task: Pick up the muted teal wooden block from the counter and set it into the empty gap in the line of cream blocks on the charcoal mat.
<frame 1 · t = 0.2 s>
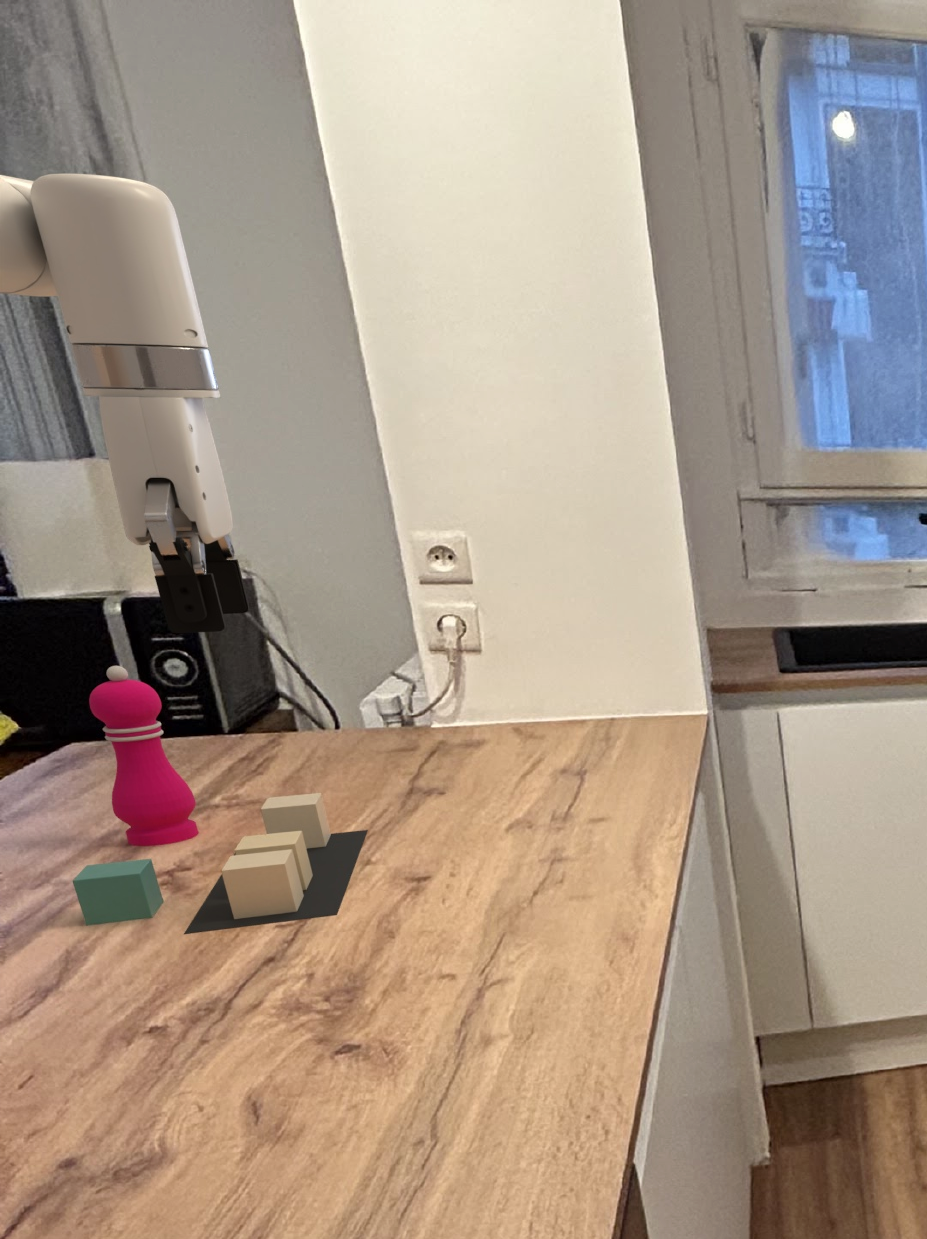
hand: (212, 622, 101), 32 cm above the table, tool pointing down, fingers open, 9 cm apart
cream block 2: (280, 886, 139), resting on mat
teal block: (127, 917, 132), on the table
mat: (286, 880, 142), on the table
cream block 1: (269, 907, 133), resting on mat
cream block 3: (302, 843, 152), resting on mat
pepper mill: (165, 843, 154), on the table
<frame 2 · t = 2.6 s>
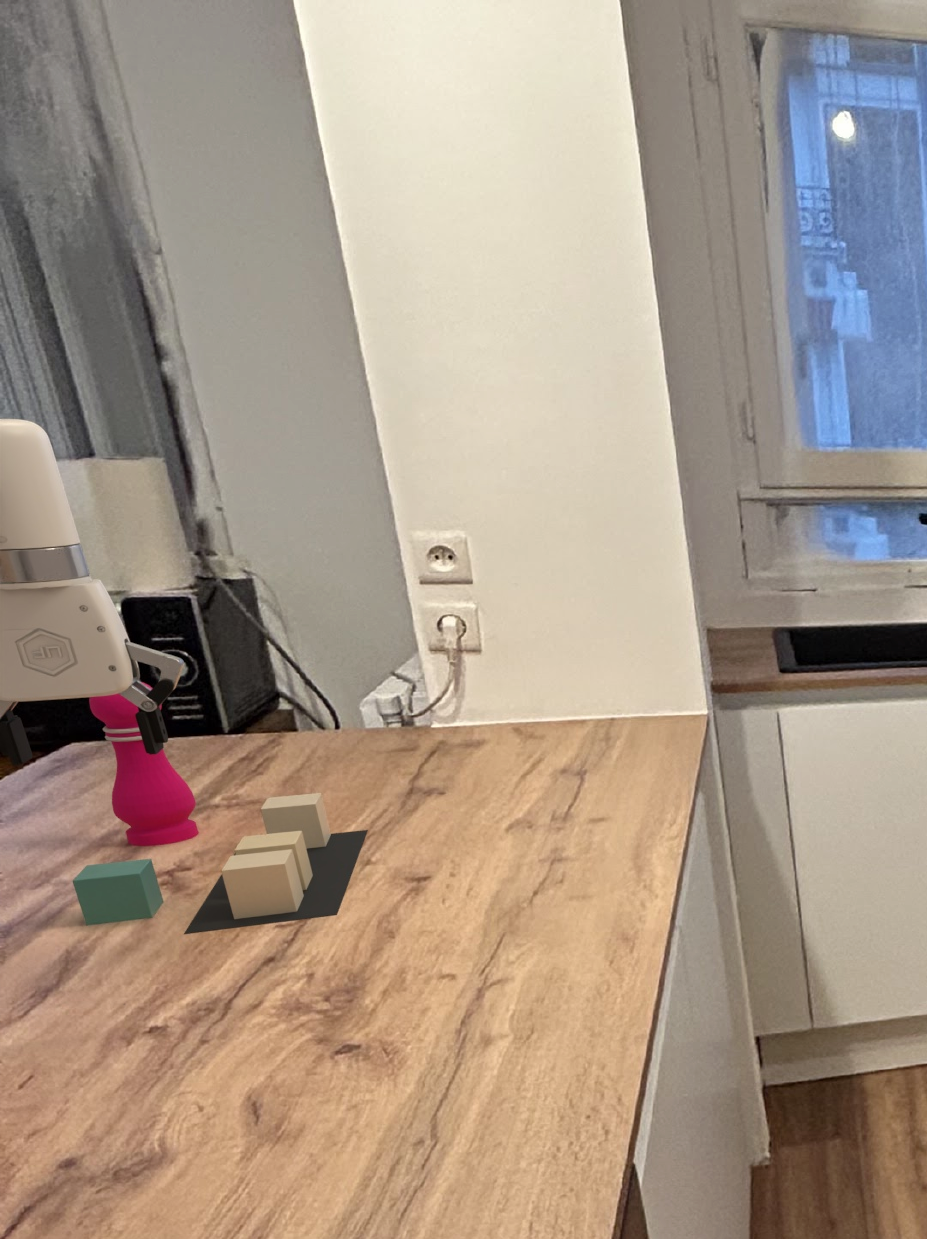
hand: (90, 756, 125), 16 cm above the table, tool pointing down, fingers open, 9 cm apart
nothing on the table moved.
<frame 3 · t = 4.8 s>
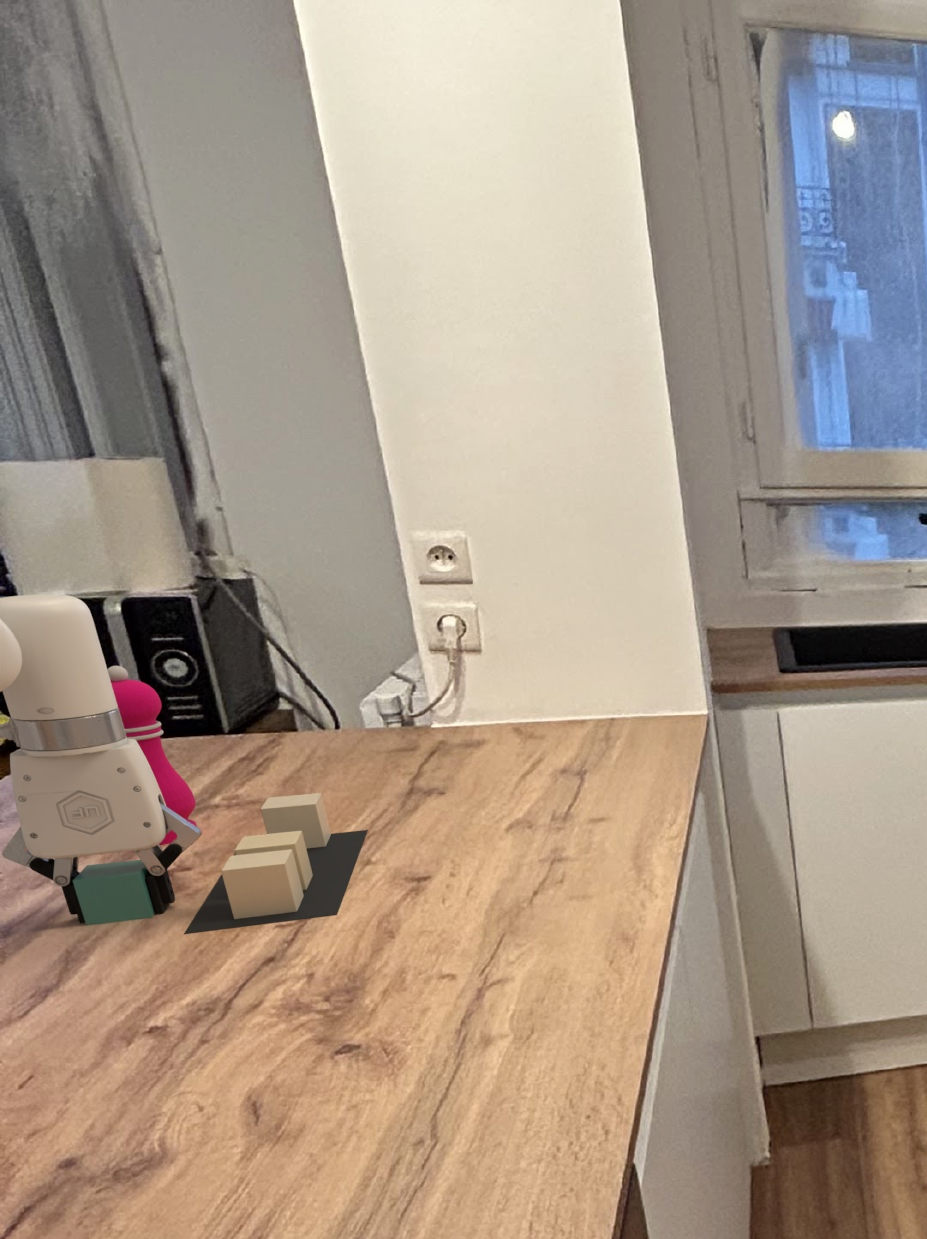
hand: (126, 913, 131), 0 cm above the table, tool pointing down, fingers closed on teal block, 5 cm apart
teal block: (127, 917, 132), on the table, touching gripper
everything else where it was.
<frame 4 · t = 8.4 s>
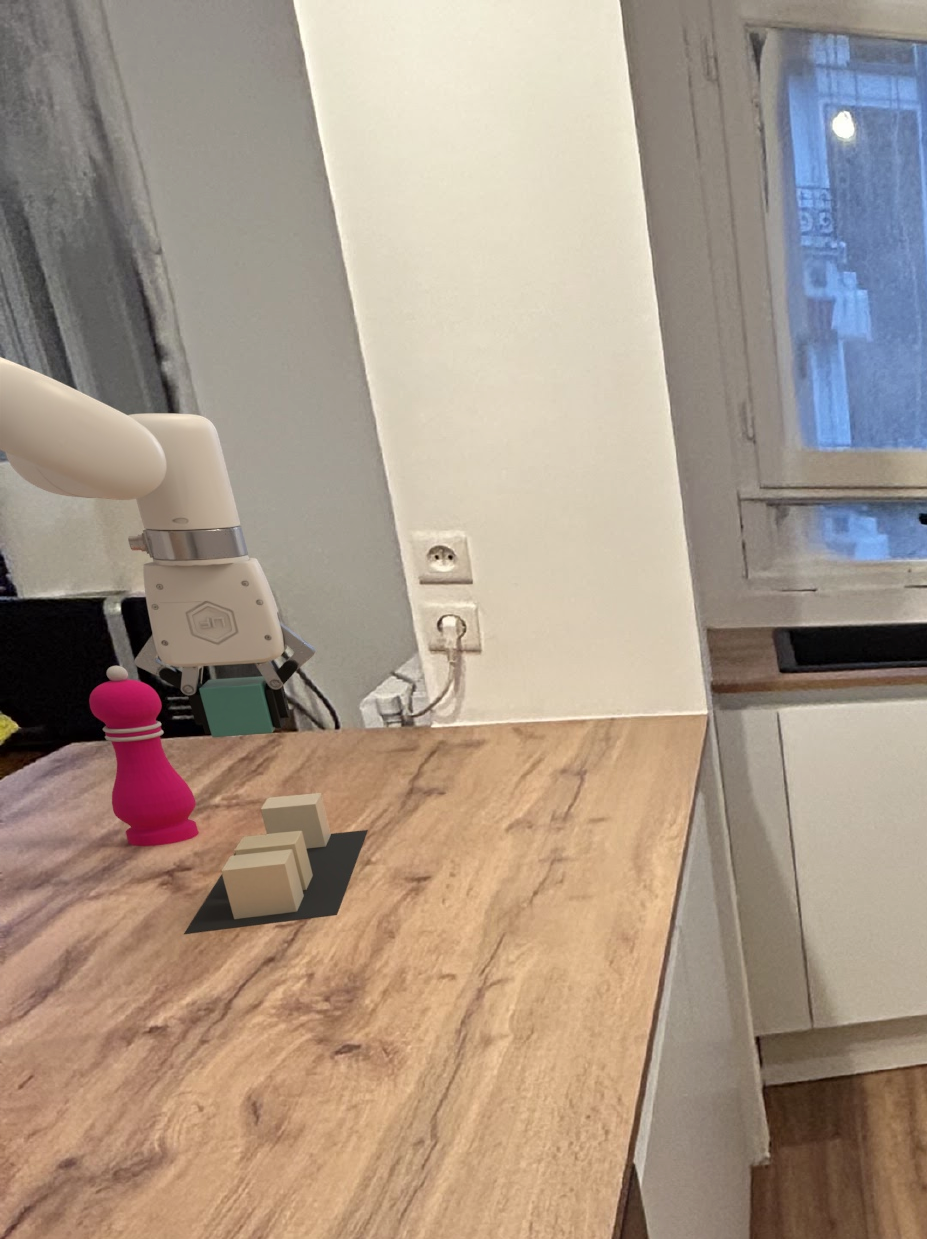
hand: (245, 726, 139), 16 cm above the table, tool pointing down, fingers closed on teal block, 5 cm apart
teal block: (246, 730, 139), point 15 cm above the table, touching gripper
everything else where it was.
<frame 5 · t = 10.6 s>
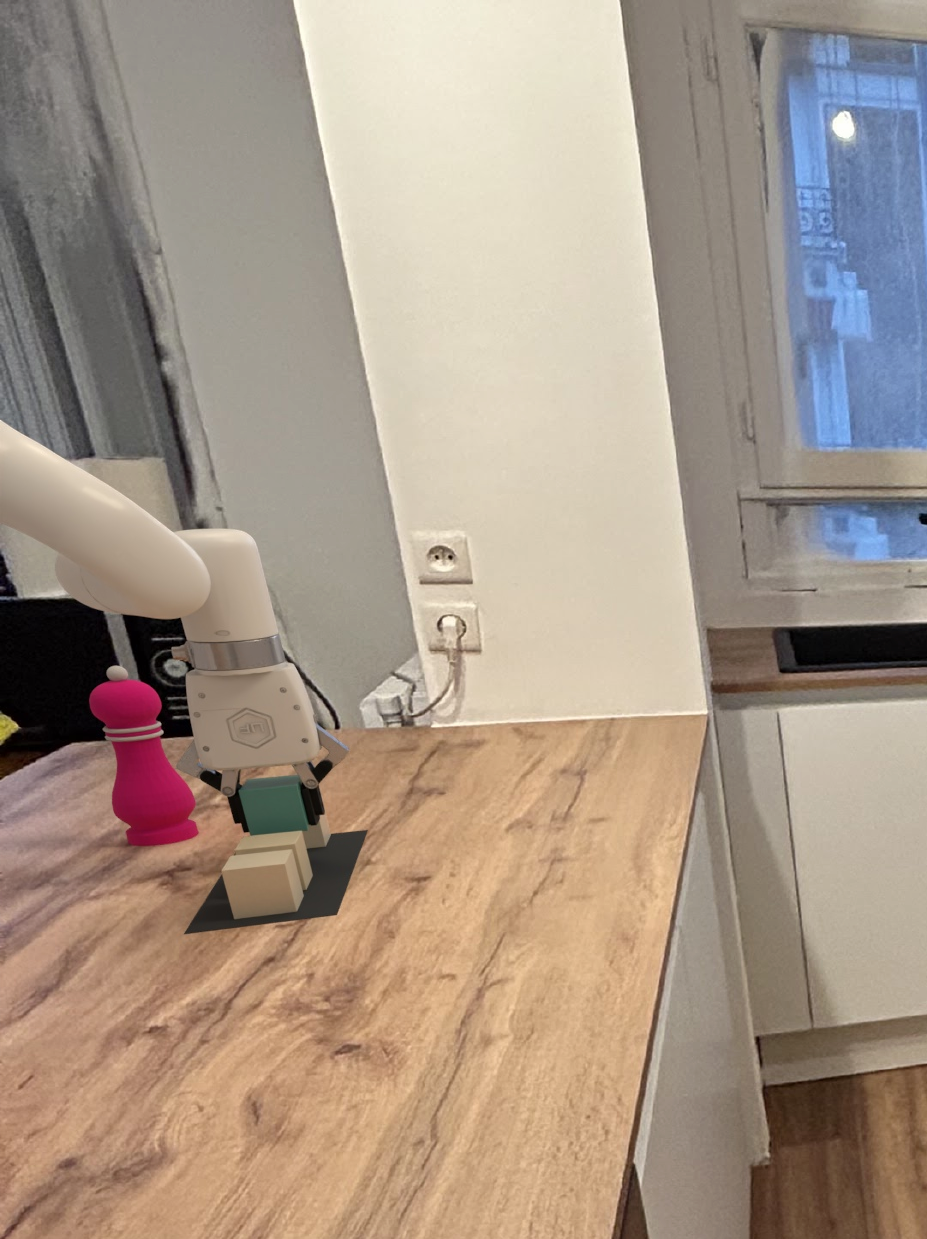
hand: (282, 823, 144), 5 cm above the table, tool pointing down, fingers closed on teal block, 5 cm apart
teal block: (283, 827, 144), point 5 cm above the table, touching gripper
everything else where it was.
when the fingers open (1 cm above the table, at t = 12.0 s): teal block stays where it is, resting on mat.
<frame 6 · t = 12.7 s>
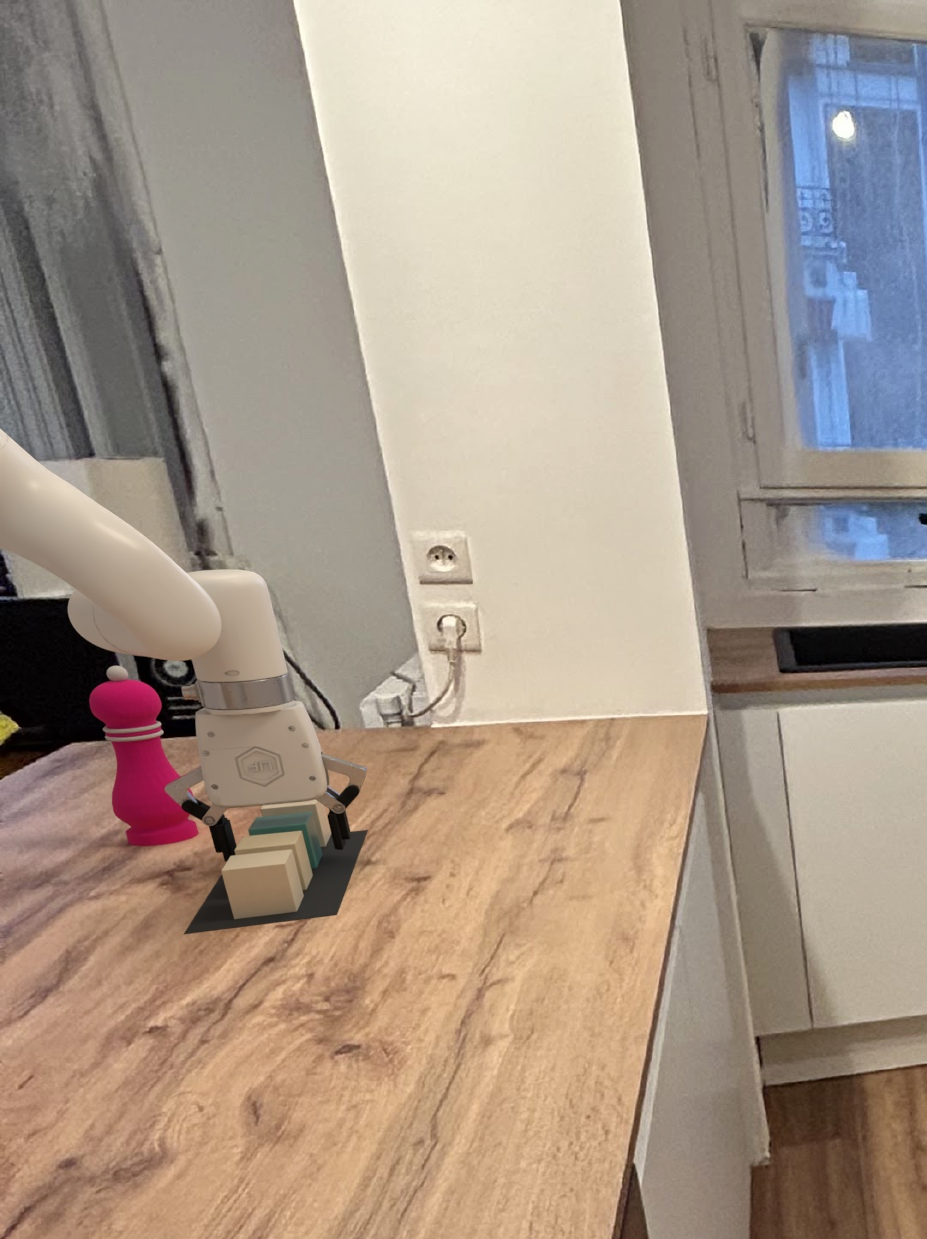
hand: (287, 852, 145), 2 cm above the table, tool pointing down, fingers open, 9 cm apart
teal block: (291, 864, 145), resting on mat
everything else where it was.
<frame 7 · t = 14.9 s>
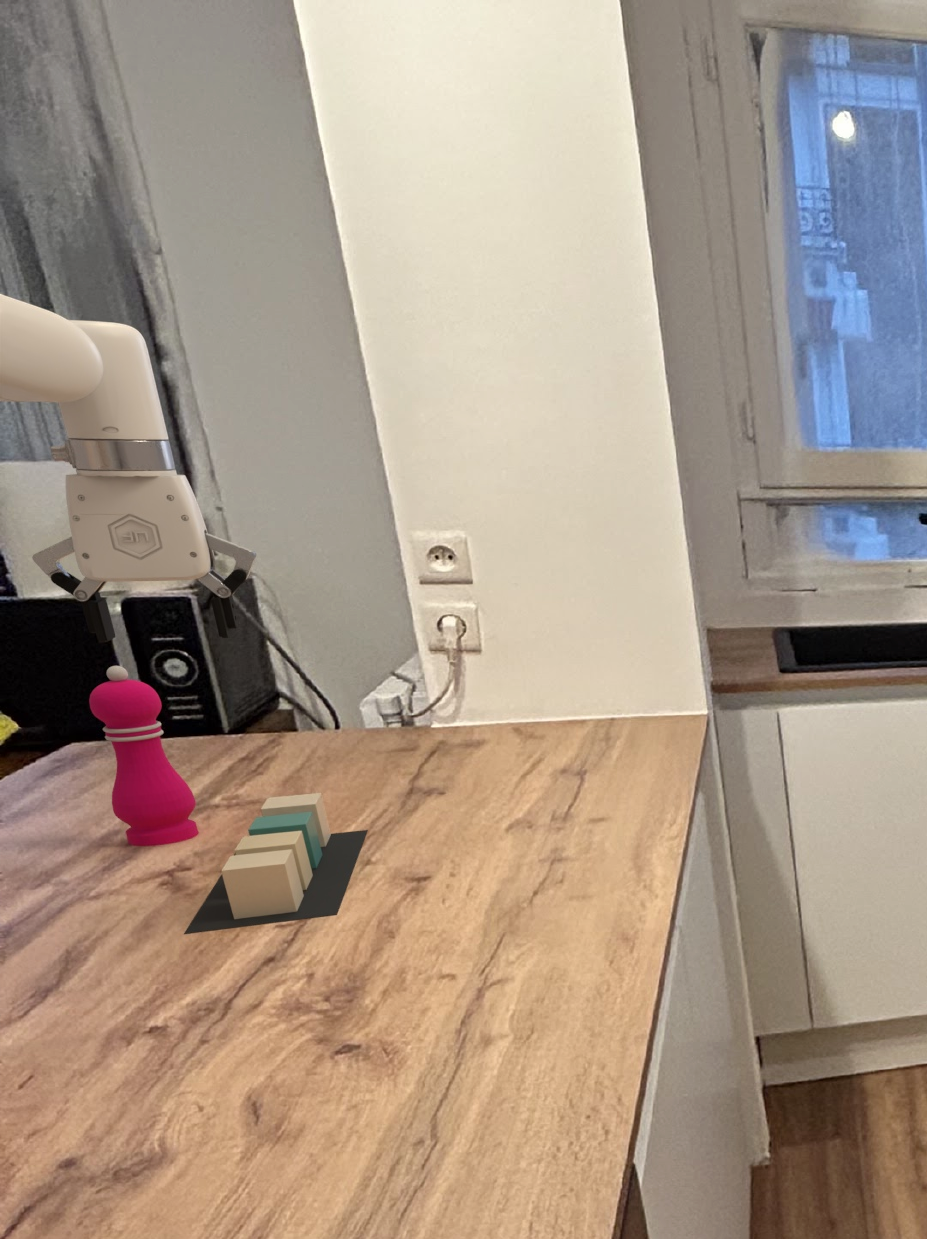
hand: (168, 638, 136), 25 cm above the table, tool pointing down, fingers open, 9 cm apart
nothing on the table moved.
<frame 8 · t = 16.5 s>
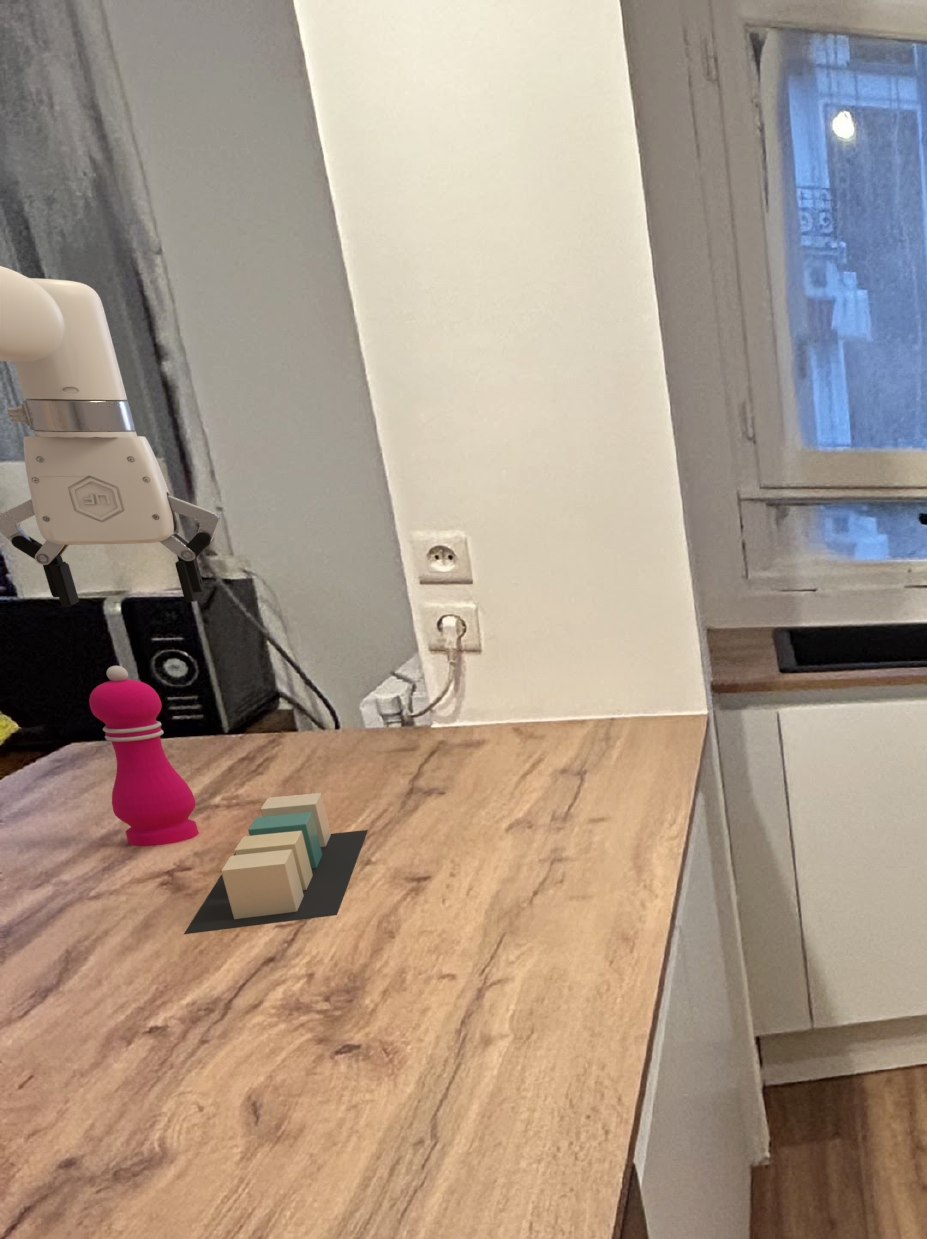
hand: (132, 602, 135), 28 cm above the table, tool pointing down, fingers open, 9 cm apart
nothing on the table moved.
at the end: teal block 0.1 cm from the target spot, point 0.5 cm above the table; teal block tilted 0°; cream block 2 moved 0.0 cm from its start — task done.
